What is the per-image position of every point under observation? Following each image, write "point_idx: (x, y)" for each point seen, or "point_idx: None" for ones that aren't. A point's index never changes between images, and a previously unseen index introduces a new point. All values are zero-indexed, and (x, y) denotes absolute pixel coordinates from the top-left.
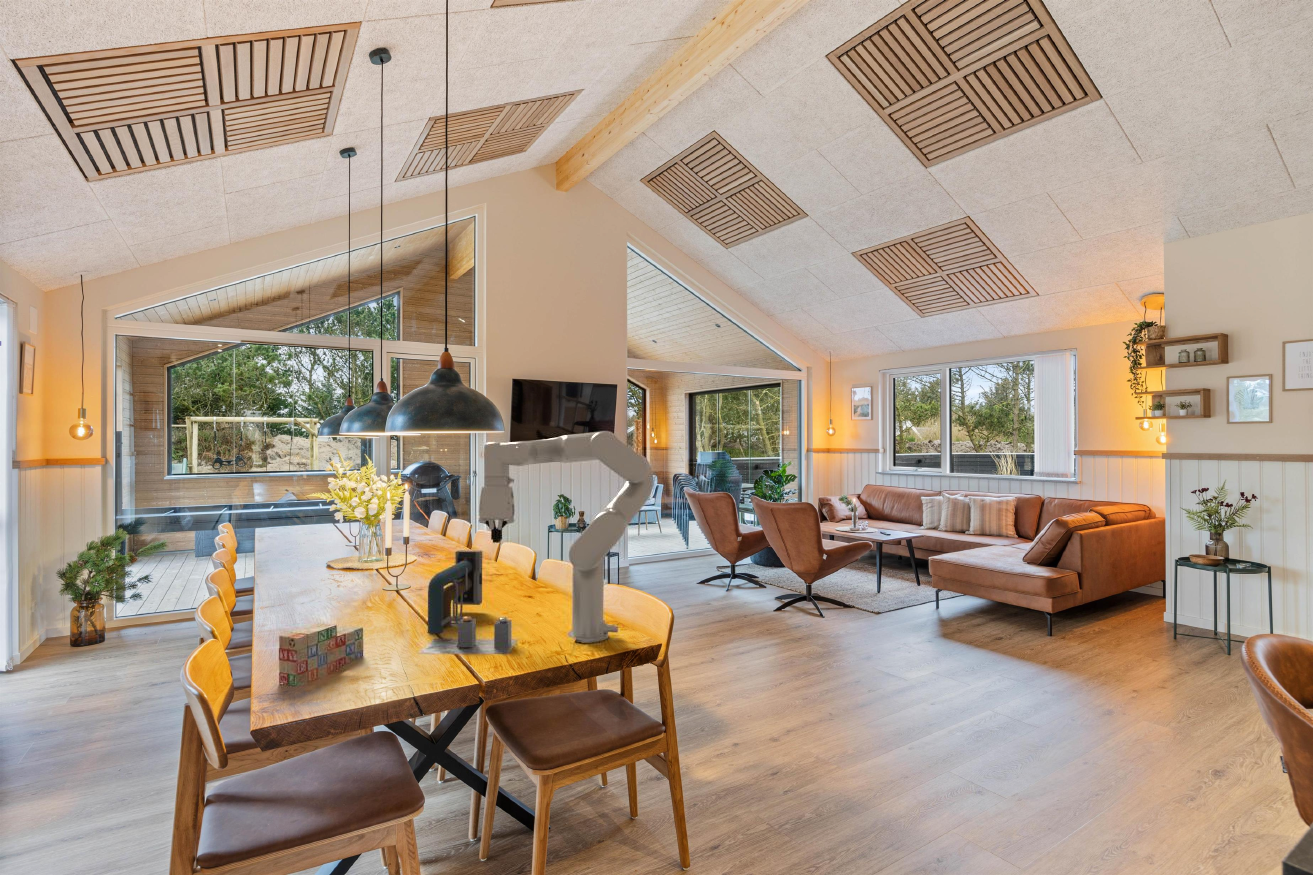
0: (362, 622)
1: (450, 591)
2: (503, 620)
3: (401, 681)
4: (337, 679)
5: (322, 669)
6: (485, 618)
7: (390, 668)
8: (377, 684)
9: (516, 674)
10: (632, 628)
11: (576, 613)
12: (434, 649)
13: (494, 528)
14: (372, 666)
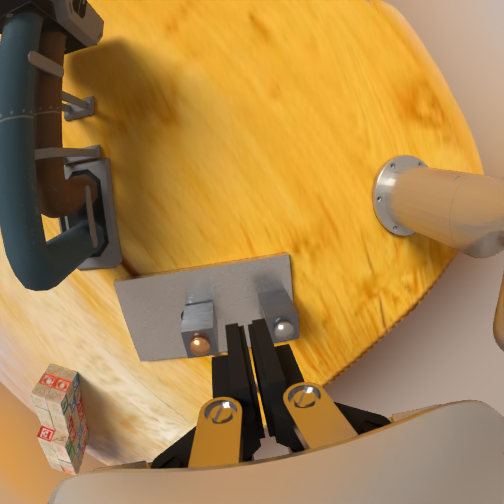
0: None
1: (51, 183)
2: (288, 338)
3: (184, 425)
4: (107, 424)
5: (83, 424)
6: (137, 77)
7: (136, 395)
8: (163, 433)
9: (323, 383)
10: (455, 134)
11: (420, 232)
12: (153, 340)
13: (254, 442)
14: (108, 390)
